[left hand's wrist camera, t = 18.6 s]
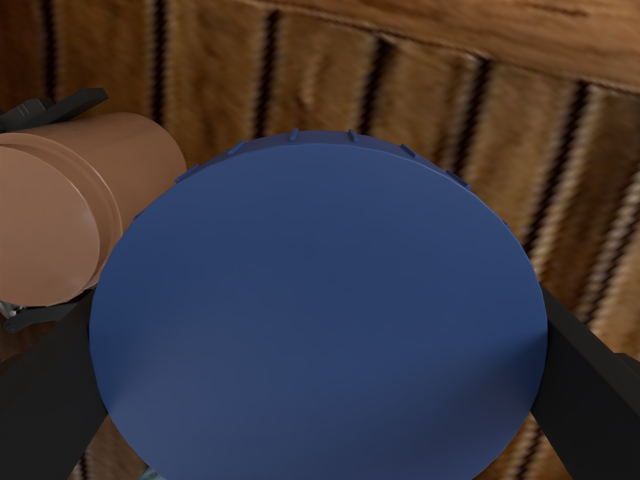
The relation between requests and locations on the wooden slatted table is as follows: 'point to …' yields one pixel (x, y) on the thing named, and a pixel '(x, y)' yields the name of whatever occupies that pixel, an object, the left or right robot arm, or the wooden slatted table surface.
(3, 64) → the wooden slatted table surface
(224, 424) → the lid
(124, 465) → the wooden slatted table surface
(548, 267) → the wooden slatted table surface
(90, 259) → the jar
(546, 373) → the left robot arm
